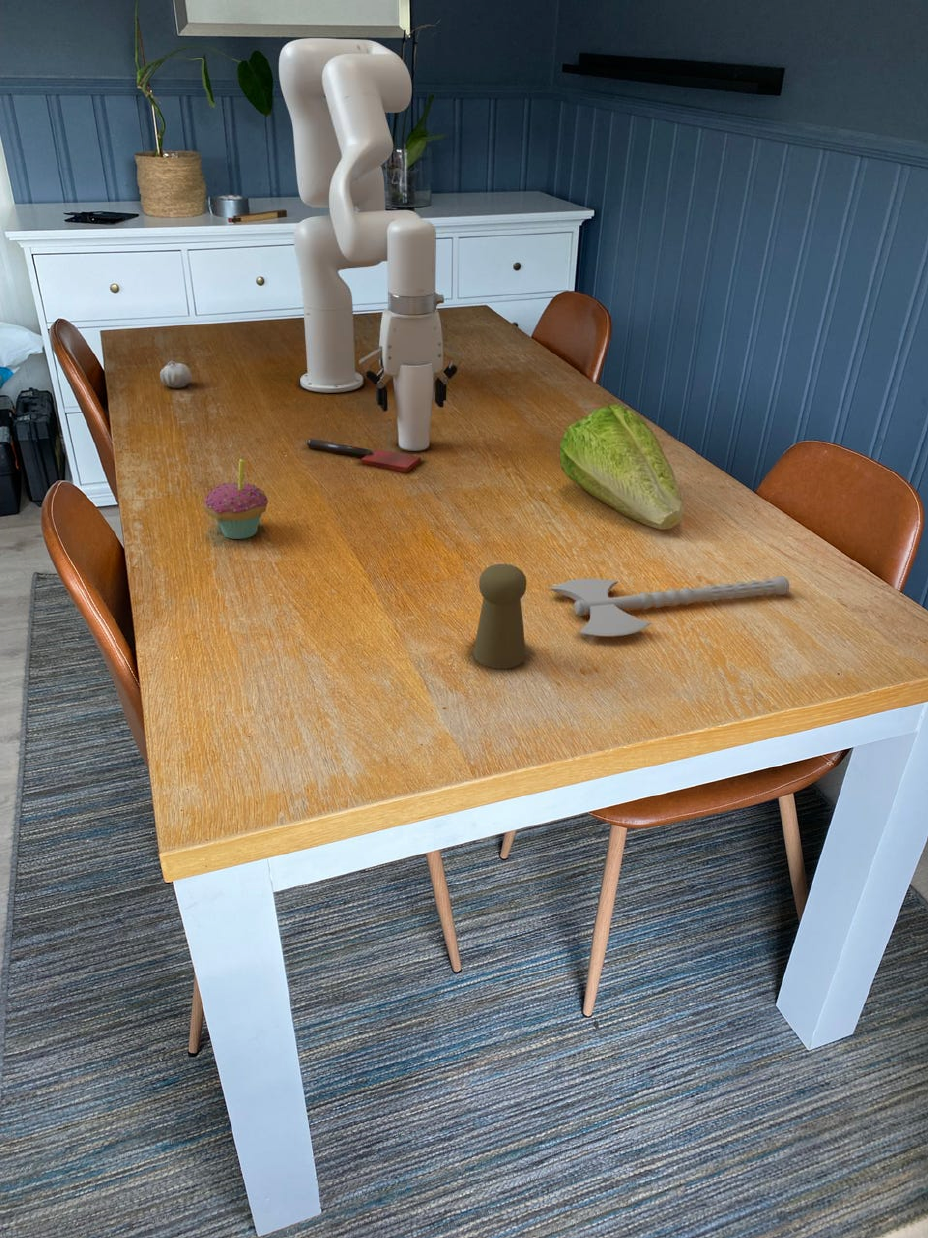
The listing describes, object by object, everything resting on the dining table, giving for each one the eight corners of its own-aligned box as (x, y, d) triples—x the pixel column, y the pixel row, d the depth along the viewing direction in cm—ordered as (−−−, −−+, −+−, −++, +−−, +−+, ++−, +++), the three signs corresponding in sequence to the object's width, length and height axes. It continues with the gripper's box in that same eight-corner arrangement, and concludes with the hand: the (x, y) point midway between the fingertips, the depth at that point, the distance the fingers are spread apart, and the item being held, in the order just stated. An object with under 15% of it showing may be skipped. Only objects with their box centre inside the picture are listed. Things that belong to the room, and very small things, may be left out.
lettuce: (618, 513, 129) (706, 453, 129) (538, 429, 145) (617, 376, 144) (643, 573, 140) (724, 517, 140) (566, 489, 155) (639, 439, 155)
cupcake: (281, 526, 137) (274, 447, 130) (246, 550, 130) (237, 468, 124) (232, 514, 140) (223, 436, 133) (195, 537, 133) (184, 456, 127)
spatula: (299, 452, 161) (299, 443, 160) (316, 442, 165) (315, 433, 165) (406, 472, 155) (406, 463, 154) (420, 461, 159) (420, 452, 158)
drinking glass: (436, 440, 167) (436, 355, 159) (431, 455, 161) (431, 367, 154) (397, 438, 168) (396, 353, 160) (391, 452, 162) (389, 365, 154)
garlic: (169, 392, 186) (165, 366, 184) (157, 385, 190) (154, 359, 187) (198, 387, 190) (194, 361, 187) (186, 380, 193) (182, 354, 190)
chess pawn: (470, 640, 112) (473, 557, 106) (521, 639, 112) (527, 556, 107) (475, 669, 107) (478, 583, 101) (529, 668, 107) (535, 582, 102)
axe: (756, 568, 129) (759, 552, 128) (812, 620, 117) (816, 603, 116) (545, 590, 122) (546, 574, 121) (582, 648, 111) (584, 631, 110)
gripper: (457, 295, 157) (454, 396, 166) (353, 299, 153) (356, 402, 162) (470, 306, 151) (466, 410, 160) (362, 311, 147) (365, 418, 156)
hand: (411, 406), depth 161 cm, fingers open, 9 cm apart
